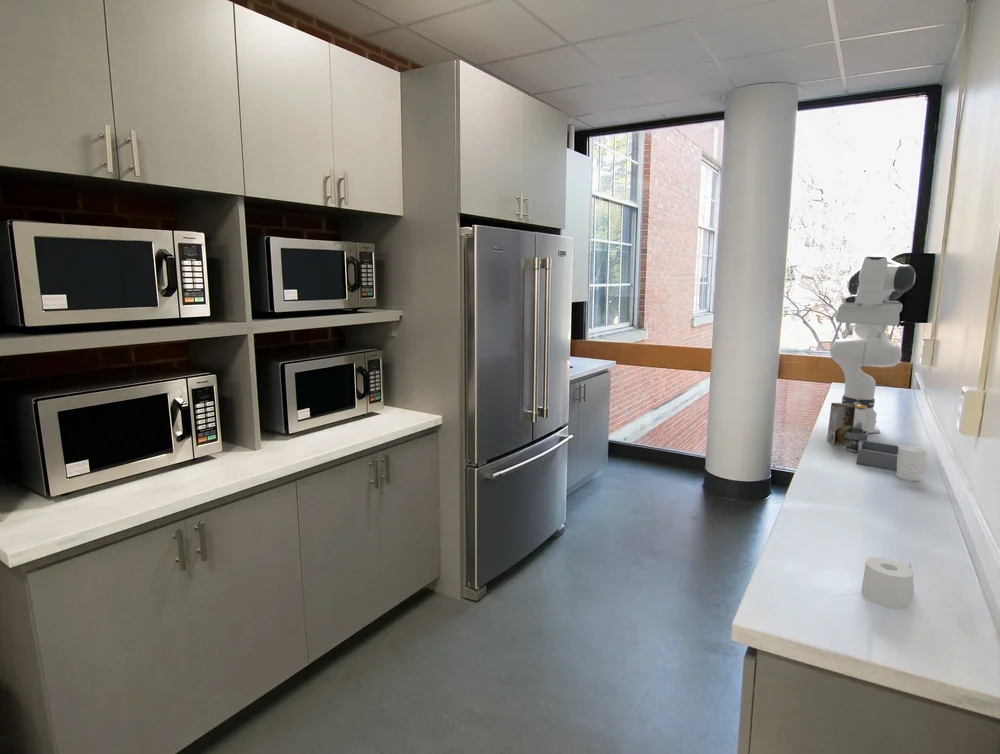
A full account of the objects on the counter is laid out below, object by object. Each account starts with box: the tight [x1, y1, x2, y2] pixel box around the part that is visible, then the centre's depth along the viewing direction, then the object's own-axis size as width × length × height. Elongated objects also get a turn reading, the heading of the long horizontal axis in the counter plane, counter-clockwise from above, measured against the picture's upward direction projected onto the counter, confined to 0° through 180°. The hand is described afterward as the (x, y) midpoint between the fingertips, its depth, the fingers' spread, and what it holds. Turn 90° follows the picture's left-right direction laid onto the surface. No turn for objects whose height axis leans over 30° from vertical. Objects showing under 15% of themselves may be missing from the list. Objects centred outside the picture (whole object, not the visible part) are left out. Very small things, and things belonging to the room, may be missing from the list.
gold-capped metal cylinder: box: [851, 404, 867, 434], centre depth 220 cm, size 4×4×12 cm
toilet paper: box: [860, 556, 915, 610], centre depth 121 cm, size 8×11×7 cm
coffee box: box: [826, 402, 856, 447], centre depth 229 cm, size 9×6×16 cm
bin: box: [855, 440, 899, 472], centre depth 207 cm, size 15×15×6 cm
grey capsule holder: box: [845, 428, 869, 454], centre depth 221 cm, size 7×7×8 cm
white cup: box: [895, 444, 928, 482], centre depth 193 cm, size 8×8×10 cm
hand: (864, 336), depth 220 cm, fingers open, 8 cm apart
